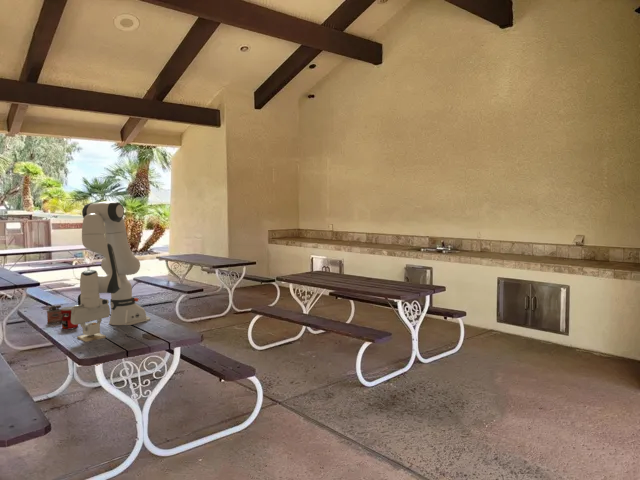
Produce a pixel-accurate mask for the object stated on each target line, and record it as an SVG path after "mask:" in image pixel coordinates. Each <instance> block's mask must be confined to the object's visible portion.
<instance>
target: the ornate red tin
mask: <svg viewBox="0 0 640 480" xmlns="http://www.w3.org/2000/svg"><path fill="white" fill-rule="evenodd" d="M61 309H62V305H61V304H58V305H52V306H49V307H48V309H47V310H46V314H47V316H46V319H47V322H46V323H47V325H53V324H52V323H54V324H60V323H61V324H62V316H61Z"/></svg>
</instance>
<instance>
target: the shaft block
mask: <svg viewBox="0 0 640 480" xmlns="http://www.w3.org/2000/svg"><path fill="white" fill-rule="evenodd" d="M89 325H92V324H89ZM76 338H77V339H78V340H80V341H83V342H85V343H88V342H92V341H97V340H101V339H105V338H107V335H105V334H102V333H101V332H100V333H98V334H94V335H85V334H82V335H77V336H76Z"/></svg>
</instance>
